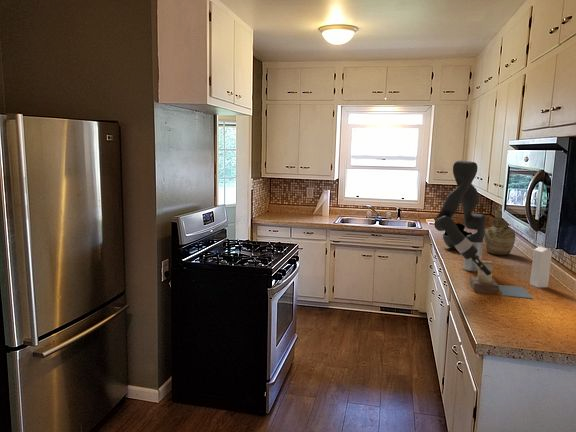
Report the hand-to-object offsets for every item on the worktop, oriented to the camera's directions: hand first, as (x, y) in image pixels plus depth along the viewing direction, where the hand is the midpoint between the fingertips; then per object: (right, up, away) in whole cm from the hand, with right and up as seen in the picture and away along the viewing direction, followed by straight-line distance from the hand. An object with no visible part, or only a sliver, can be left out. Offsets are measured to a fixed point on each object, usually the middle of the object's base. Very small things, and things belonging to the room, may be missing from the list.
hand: (487, 272), depth 221 cm
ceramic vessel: (+46, +2, +86) cm, 97 cm away
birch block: (-1, -4, +1) cm, 5 cm away
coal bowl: (+20, +4, +94) cm, 96 cm away
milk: (+32, -9, +11) cm, 34 cm away
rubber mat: (+12, -9, -2) cm, 15 cm away
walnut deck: (-2, -8, +2) cm, 9 cm away
